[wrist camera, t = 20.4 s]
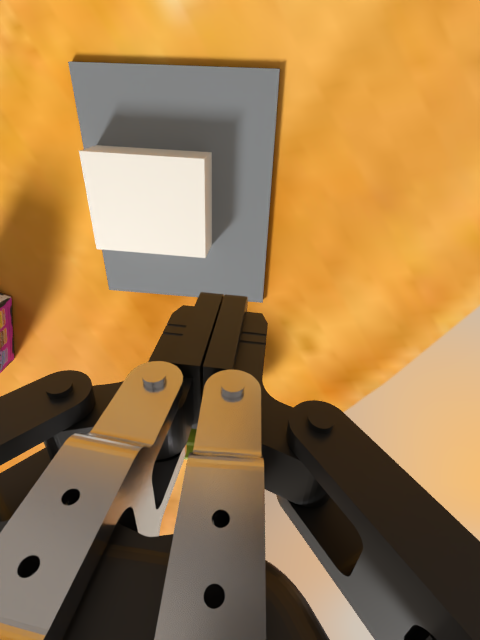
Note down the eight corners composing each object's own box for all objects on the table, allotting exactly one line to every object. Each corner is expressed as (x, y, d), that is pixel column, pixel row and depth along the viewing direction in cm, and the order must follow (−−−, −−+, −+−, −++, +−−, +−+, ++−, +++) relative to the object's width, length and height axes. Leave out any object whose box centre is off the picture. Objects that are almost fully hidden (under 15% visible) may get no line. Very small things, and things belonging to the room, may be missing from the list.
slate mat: (71, 61, 32) (68, 61, 32) (279, 69, 31) (279, 68, 30) (111, 287, 44) (109, 289, 44) (262, 299, 43) (262, 302, 42)
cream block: (211, 152, 34) (96, 145, 35) (204, 158, 31) (79, 151, 32) (211, 244, 39) (110, 236, 40) (205, 258, 36) (96, 249, 37)
